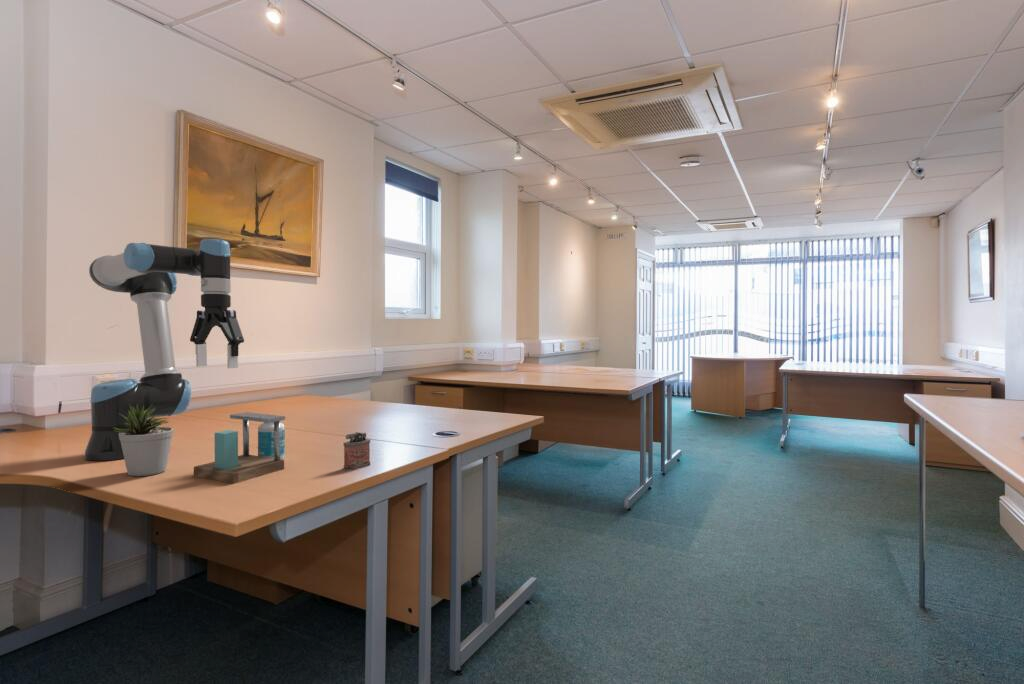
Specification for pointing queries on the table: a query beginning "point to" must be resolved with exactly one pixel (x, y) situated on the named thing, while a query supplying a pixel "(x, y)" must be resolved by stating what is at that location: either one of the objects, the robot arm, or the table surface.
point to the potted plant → (145, 443)
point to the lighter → (356, 451)
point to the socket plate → (240, 469)
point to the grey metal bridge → (260, 418)
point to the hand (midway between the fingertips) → (216, 367)
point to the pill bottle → (270, 440)
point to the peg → (226, 449)
